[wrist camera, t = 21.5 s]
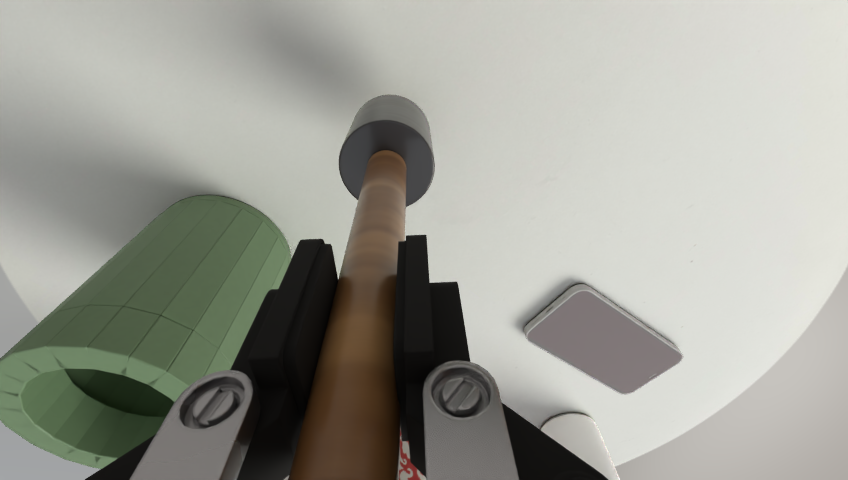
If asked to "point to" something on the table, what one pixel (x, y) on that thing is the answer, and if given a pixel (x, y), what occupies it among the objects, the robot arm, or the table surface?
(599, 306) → the smartphone
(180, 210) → the green pencil cup
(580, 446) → the can
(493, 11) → the table surface
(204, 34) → the table surface
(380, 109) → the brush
